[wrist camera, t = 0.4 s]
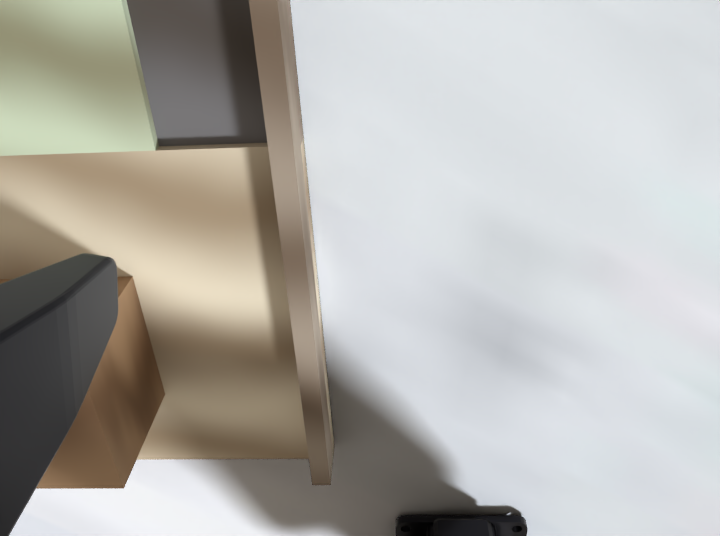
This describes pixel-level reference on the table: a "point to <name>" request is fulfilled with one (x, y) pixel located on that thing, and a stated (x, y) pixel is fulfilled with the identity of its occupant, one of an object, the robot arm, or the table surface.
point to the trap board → (177, 204)
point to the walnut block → (112, 406)
